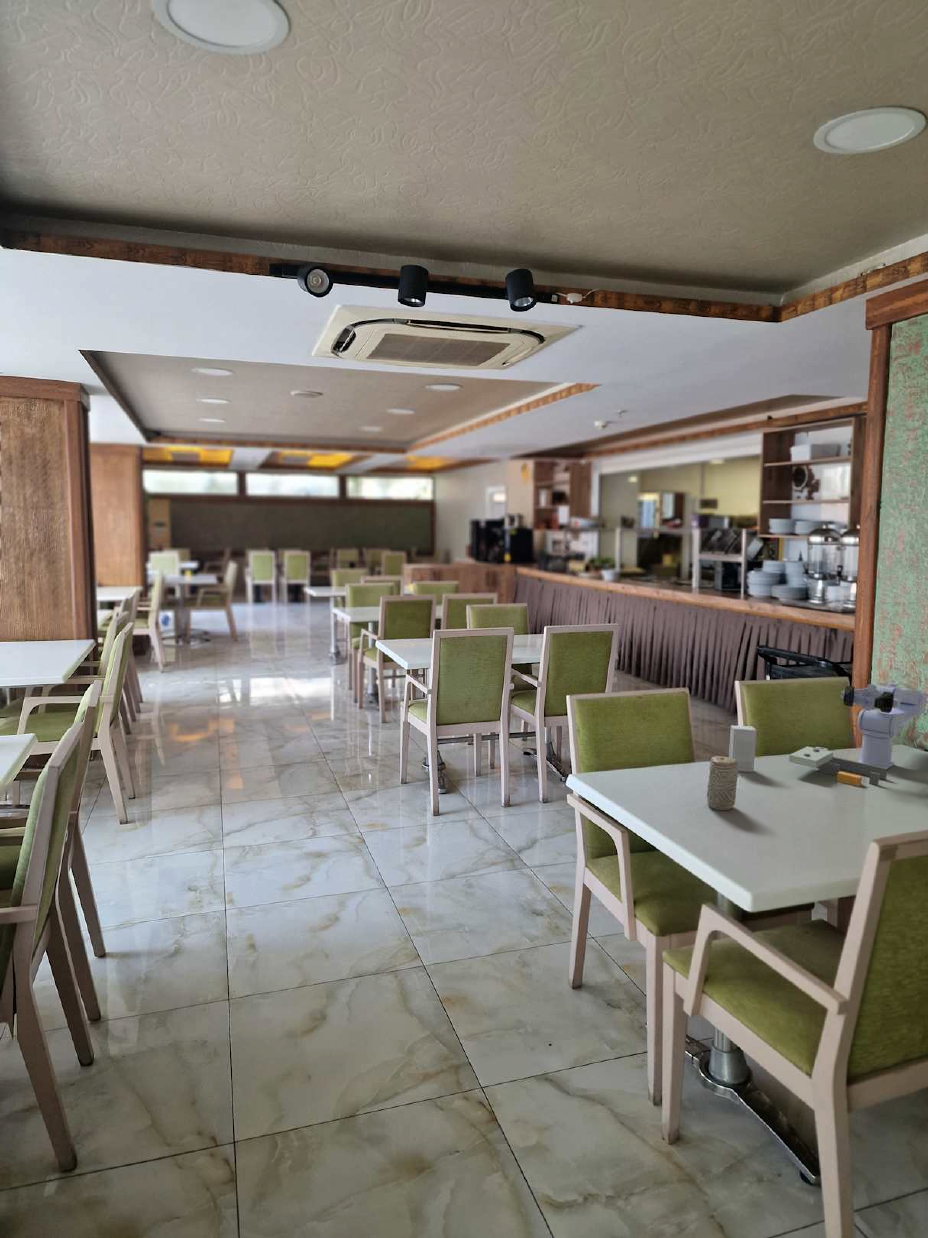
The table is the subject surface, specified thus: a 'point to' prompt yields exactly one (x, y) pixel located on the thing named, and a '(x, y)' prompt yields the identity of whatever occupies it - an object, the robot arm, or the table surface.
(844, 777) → the orange cuboid brick
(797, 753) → the cover
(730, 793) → the carving
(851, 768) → the long grey beam
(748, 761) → the skincare box
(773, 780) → the table surface
